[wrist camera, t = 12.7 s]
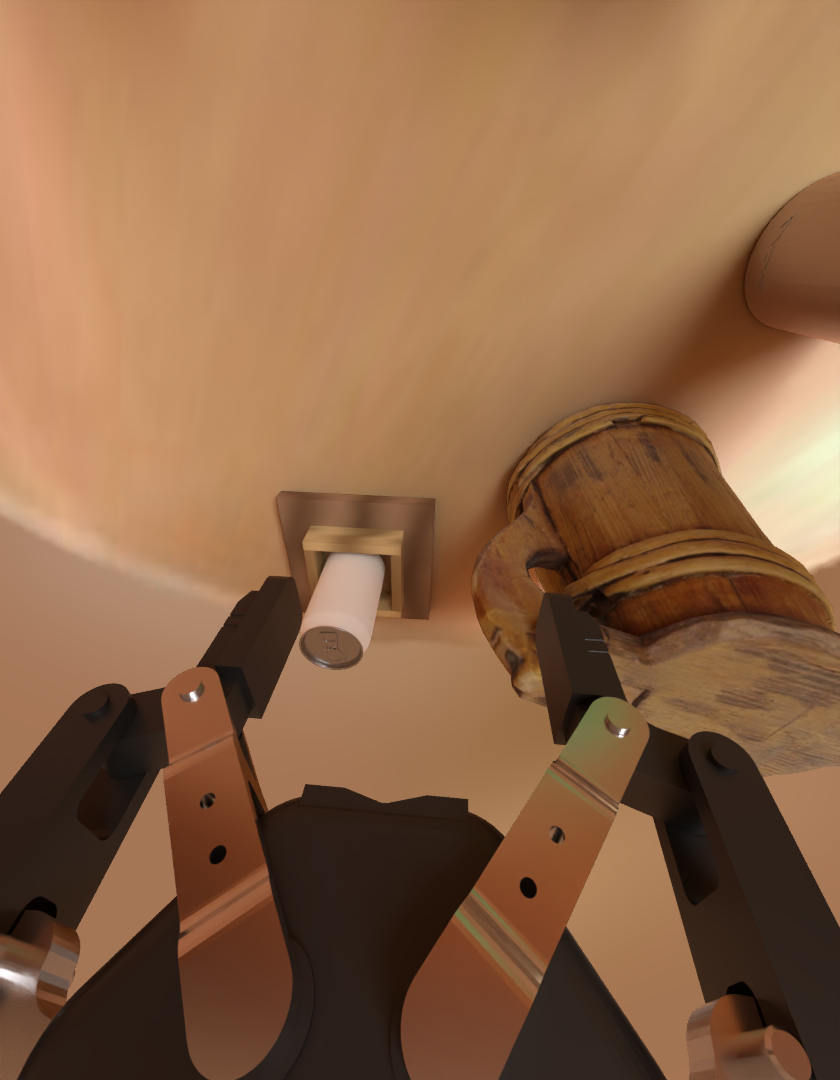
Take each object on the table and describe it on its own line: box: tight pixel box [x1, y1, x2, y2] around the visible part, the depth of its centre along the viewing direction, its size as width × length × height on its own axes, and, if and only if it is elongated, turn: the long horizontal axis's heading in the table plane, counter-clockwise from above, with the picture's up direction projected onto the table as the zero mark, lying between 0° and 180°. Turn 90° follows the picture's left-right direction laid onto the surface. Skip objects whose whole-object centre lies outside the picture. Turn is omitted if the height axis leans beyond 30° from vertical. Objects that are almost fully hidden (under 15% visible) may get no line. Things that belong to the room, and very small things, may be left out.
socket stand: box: [276, 491, 435, 620], centre depth 45 cm, size 16×16×4 cm
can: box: [299, 552, 385, 670], centre depth 41 cm, size 6×6×12 cm
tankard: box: [471, 403, 840, 777], centre depth 30 cm, size 18×24×25 cm
